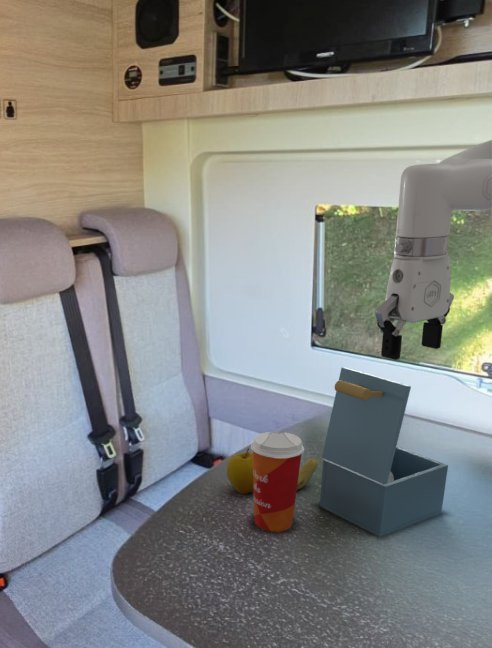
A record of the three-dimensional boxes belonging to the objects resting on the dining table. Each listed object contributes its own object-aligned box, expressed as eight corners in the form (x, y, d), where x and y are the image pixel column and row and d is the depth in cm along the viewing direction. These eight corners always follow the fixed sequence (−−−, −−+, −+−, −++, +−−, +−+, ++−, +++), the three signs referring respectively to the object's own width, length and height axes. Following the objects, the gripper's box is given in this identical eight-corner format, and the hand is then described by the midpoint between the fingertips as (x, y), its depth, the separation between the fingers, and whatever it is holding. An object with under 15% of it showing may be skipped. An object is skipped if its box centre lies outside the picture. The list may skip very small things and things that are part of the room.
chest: (379, 486, 130) (383, 441, 127) (441, 513, 120) (448, 465, 117) (319, 506, 124) (323, 459, 121) (379, 537, 113) (385, 486, 110)
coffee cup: (247, 510, 124) (250, 429, 119) (296, 512, 122) (302, 430, 117) (248, 534, 116) (251, 448, 111) (301, 537, 115) (307, 450, 109)
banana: (307, 474, 136) (309, 455, 135) (320, 478, 134) (321, 458, 133) (281, 493, 129) (282, 473, 128) (294, 497, 128) (295, 476, 126)
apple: (256, 482, 134) (258, 442, 131) (266, 497, 128) (268, 456, 125) (222, 484, 134) (223, 444, 131) (230, 499, 128) (231, 458, 125)
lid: (344, 367, 117) (320, 366, 114) (411, 386, 106) (386, 386, 104) (324, 457, 121) (300, 458, 118) (387, 484, 110) (362, 486, 108)
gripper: (403, 256, 106) (393, 367, 112) (479, 242, 113) (465, 347, 119) (362, 252, 112) (355, 357, 118) (436, 239, 120) (426, 339, 126)
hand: (410, 352), depth 119 cm, fingers open, 9 cm apart
